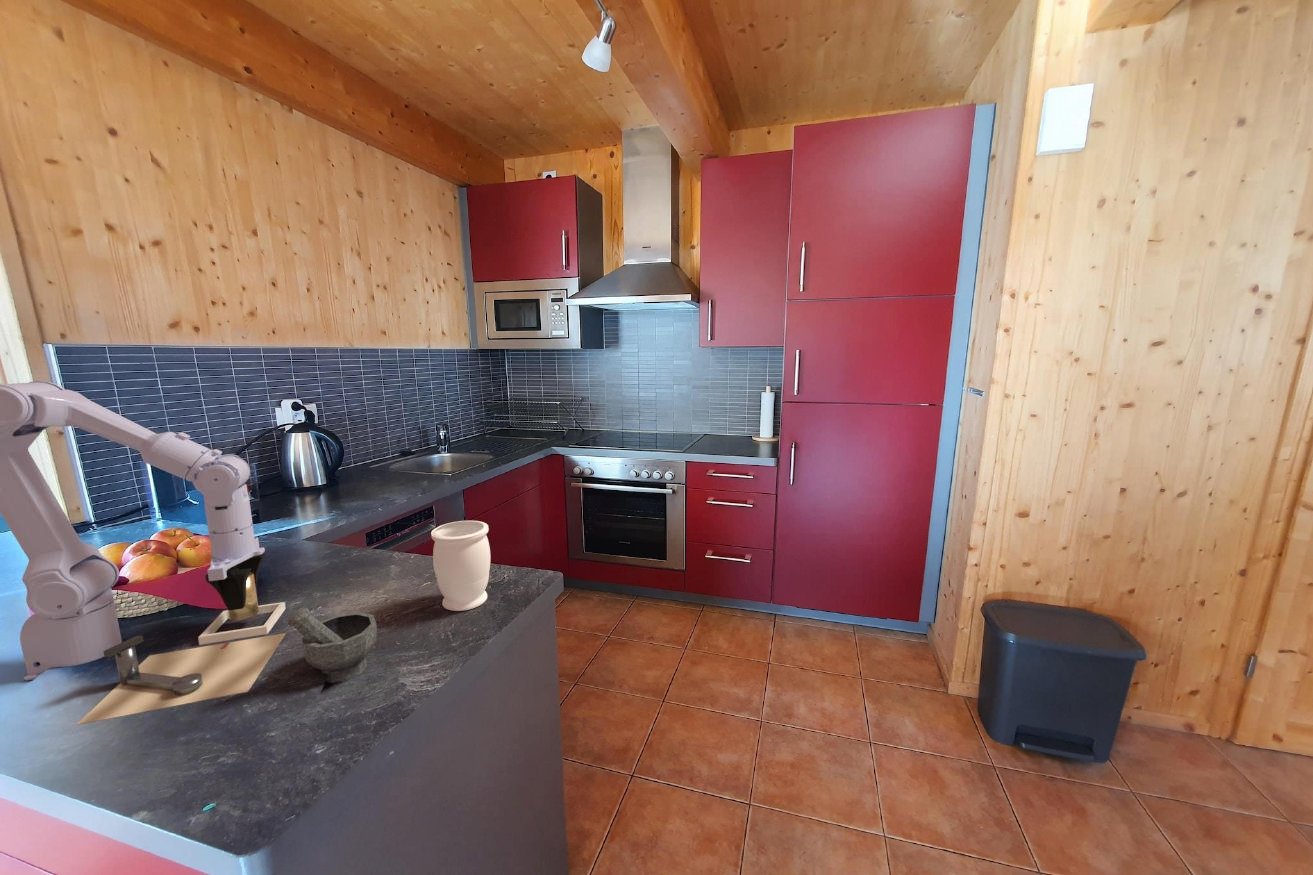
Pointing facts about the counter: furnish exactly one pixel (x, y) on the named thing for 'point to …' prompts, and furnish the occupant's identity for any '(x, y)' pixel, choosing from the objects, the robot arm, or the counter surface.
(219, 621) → the tray
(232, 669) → the crank board
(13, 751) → the counter surface
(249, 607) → the brass cylinder
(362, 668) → the mortar and pestle
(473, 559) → the jar
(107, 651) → the crank
